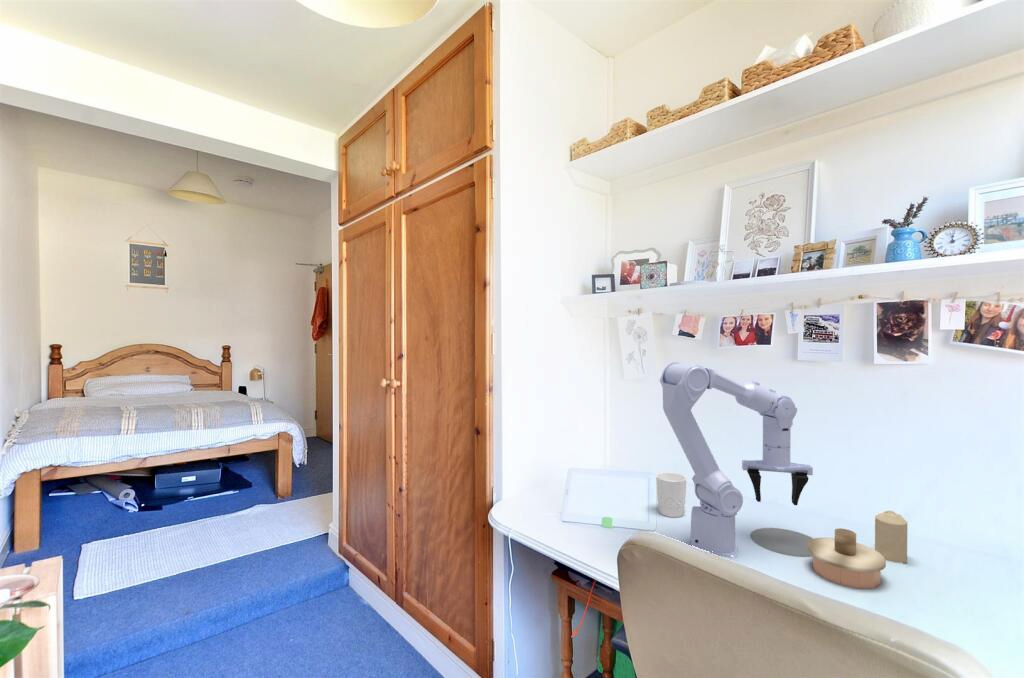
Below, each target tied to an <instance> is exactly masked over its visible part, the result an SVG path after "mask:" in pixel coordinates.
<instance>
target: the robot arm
mask: <svg viewBox="0 0 1024 678" xmlns="http://www.w3.org/2000/svg"><path fill="white" fill-rule="evenodd" d="M659 382H660V384H661V387H662V409H663V413H664V414H665V416H666V418H667V421H668V422H669V425H670V427H671V428H672V430H673V433H674V435H675V436H676V438H677V440H678V443H679V445H680V447H681V448H682V450H683V453H684V454H685V457H686V458H687V461H688V463H689V464H690V467H691V469H692V471H693V473H694V475H693V476H692V478H691V480H692V481H693V484H694V494H695V496H696V497H697V499H698V500H699V505H700V506H699V505H698V506H696V505H693V506H692V508H691V514H690V516H691V517H690V546H691V545H693V546H695V547H698V548H700V549H703V550H706V551H709V552H712V551H713V552H712V553H714V554H713V555H718V556H723V557H727V556H728V558H731V557H730V556H731V555H733V556H734V557H736V555H737V554H738V545H739V543H738V542H737V541H736V516H737V515H738V513H739V511H741V509H742V506H743V503H744V497H743V494H742V492H741V491H740V490H739V489H738V488H737V487H735V486H734V485H733V483H732V481H731V479H730V478H729V477H728V476H726V474H725V473H724V472H723V471H721V468H719V466H718V464H717V460H716V459H715V457H714V455H713V452H712V451H711V449H710V447H709V444H708V443H707V441H706V439H705V437H704V435H703V433H702V430H701V429H700V427H699V424H698V422H697V420H696V418H695V416H694V414H693V412H692V408H694V406H695V404H696V403H697V402H698V401H699V400H700V398H701V397H702V395H703V394H704V393H705V392H706V391H707V390H712V389H715V390H718V391H721V392H723V393H725V394H728V395H730V396H734V398H735V400H736V401H735V402H737V404H739V405H740V406H743V407H745V408H748V409H750V410H753V411H755V412H758V414H759V416H762V459H758V460H757V459H754V460H752V459H751V460H750V459H749V460H747V459H742V460H741V469H742V470H743V471H747V474H748V476H749V478H750V481H751V483H752V484H751V485H752V486H753V489H754V494H755V495H754V496H755V500H756V501H757V502H759V503H761V500H762V497H761V496H762V494H761V483H762V476H761V472H772V473H773V472H775V473H776V472H777V473H785V474H787V473H788V474H790V475H791V503H792V504H793V505H794V506H799V505H798V504H799V499H800V496H801V494H802V492H803V489H804V488H805V486H806V485H807V483H808V481H809V476H813V475H814V474H813V473H814V471H813V470H814V469H813V466H812V465H810V464H804V463H796V462H791V428H792V426H793V425H794V424H793V423H794V422H793V421H794V419H795V417H796V415H797V412H798V408H797V407H796V404H795V402H794V401H793V399H792V398H791V397H789V396H786V395H780V394H777V393H776V390H774V389H771V388H769V389H767V388H764V387H763V386H761V383H760V382H759V381H754V380H751V381H745V382H742V383H740V382H739V381H736V380H735V379H732V378H730V377H729V376H727V375H725V374H723V373H721V372H718V371H715V370H714V369H712V368H708V367H704V366H703V365H700V364H699V365H698V364H694V365H692V364H685V363H680V362H670V363H669V364H667V365H666V366H665V368H664V369H663V371H662V374H661V375H660V378H659ZM712 553H711V554H712ZM724 555H725V556H724ZM736 558H737V557H736Z"/></svg>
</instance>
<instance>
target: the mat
mask: <svg viewBox="0 0 1024 678" xmlns="http://www.w3.org/2000/svg"><path fill="white" fill-rule="evenodd" d="M749 536H750V537H749V538H750V539H751V540H752V542H754V543H755V544H756V545H758V546H759V547H761V548H763V549H764V550H768V551H770V552H772V553H776V554H780V555H783V556H784V555H785V556H790V557H797V558H813V555H812V554H811V553H810V552H809V550H808V542H809V541H810V540H812V539H814V537H812V536H809V535H808V534H804V533H801V532H798V531H796V530H795V531H794V530H790V529H786V528H785V529H784V528H779V527H761V528H757V529H753V530H752V531H751V532H750V534H749Z"/></svg>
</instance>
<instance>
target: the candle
mask: <svg viewBox="0 0 1024 678" xmlns="http://www.w3.org/2000/svg"><path fill="white" fill-rule="evenodd" d="M874 517H875V518H874V550H876V551H877V552H879V553H880V554H881V555H883V557H884V558H885V560H886V561H888V562H893V563H900V564H904V565H905V564H906V563H907V562H908V521H907V520H906V519H905V517H903V516H902V515H901V514H897V512H894V511H893V510H885V511H883V512H881V513H878V514H876V515H875V516H874Z"/></svg>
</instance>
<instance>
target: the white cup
mask: <svg viewBox="0 0 1024 678" xmlns="http://www.w3.org/2000/svg"><path fill="white" fill-rule="evenodd" d="M655 477H656V478H655V479H656V480H655V481H656V495H657V496H656V499H657V511H658V513H659V514H660V515H662V516H664V517H670V518H680V517H683V516H684V515H685V508H686V507H685V505H686V497H687V496H686V494H687V477H686V476H685V475H684V474H682V473H681V474H680V473H676V472H670V471H669V472H659V473H657V474H656V475H655Z"/></svg>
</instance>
